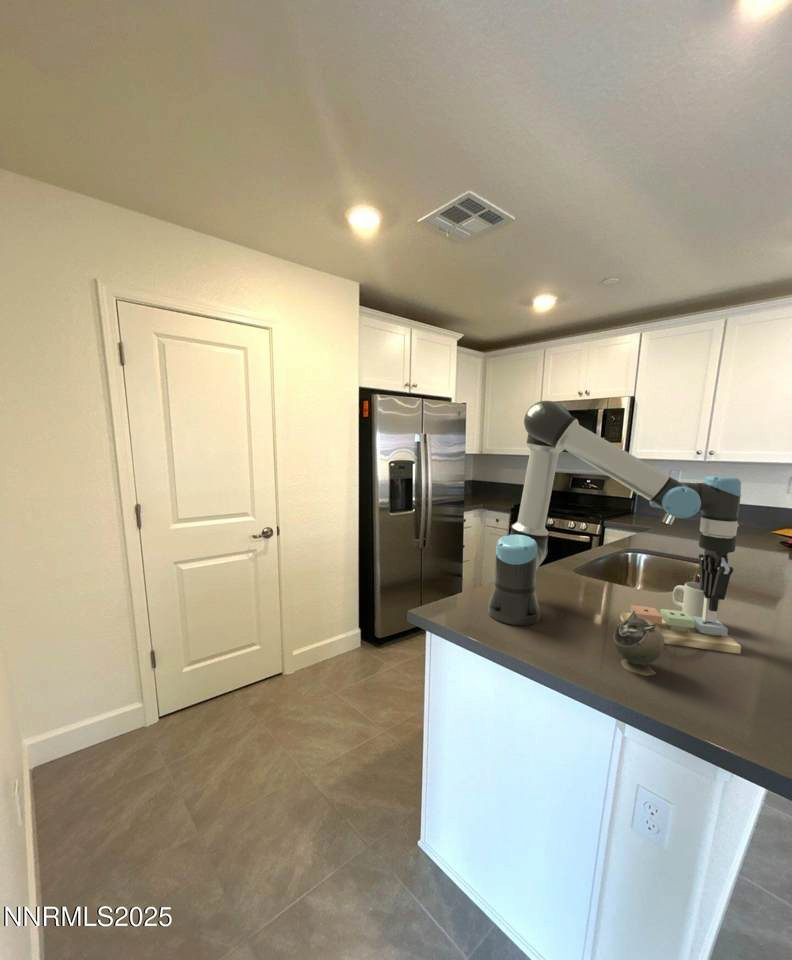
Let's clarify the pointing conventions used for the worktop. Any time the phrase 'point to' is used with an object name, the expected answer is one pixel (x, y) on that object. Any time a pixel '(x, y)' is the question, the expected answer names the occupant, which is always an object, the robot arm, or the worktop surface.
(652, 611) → the terracotta tile
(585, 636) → the worktop surface
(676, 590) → the mug
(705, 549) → the robot arm
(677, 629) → the sage tile
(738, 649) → the board
